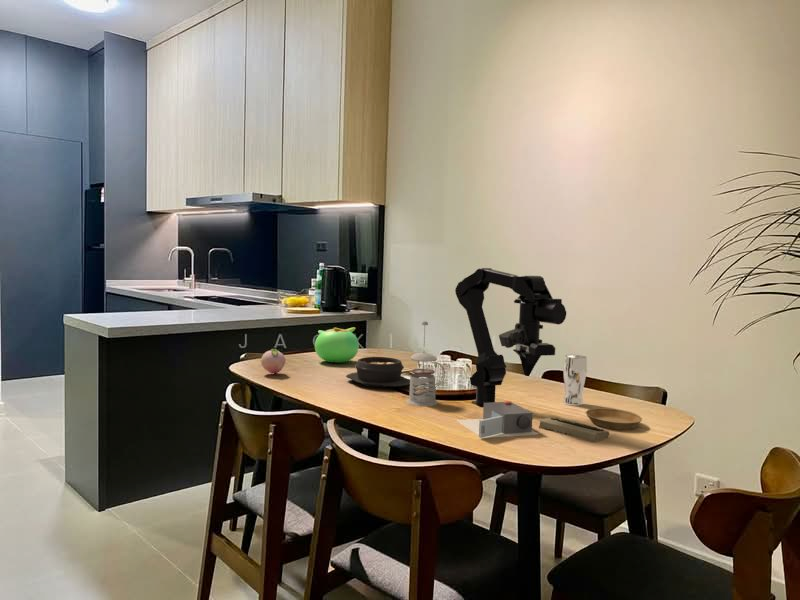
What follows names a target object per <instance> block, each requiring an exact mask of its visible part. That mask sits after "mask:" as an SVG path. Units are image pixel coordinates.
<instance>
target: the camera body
mask: <svg viewBox="0 0 800 600" xmlns="http://www.w3.org/2000/svg"><path fill="white" fill-rule="evenodd" d="M482 408H483V410H482V411H483V413H482V419H488V418H493V417H497V416H504V424H503V434H509V433H524V432H532V430H533V412H532V411H530V410H527V409H526V408H524V407H522V406H520V405H518V404H515V403H513V401H509V400H506V401H505V400H504V401H495V402H490V403H484V407H482Z"/></svg>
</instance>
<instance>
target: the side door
mask: <svg viewBox="0 0 800 600" xmlns="http://www.w3.org/2000/svg"><path fill="white" fill-rule="evenodd" d="M482 419H483V418H482ZM503 424H504V416H497V417H493V418H488V419H483V420H479V436H478V438H480V439H484V438H483V437H487V436H491V435H496V434H500V433H503Z"/></svg>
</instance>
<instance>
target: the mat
mask: <svg viewBox="0 0 800 600" xmlns="http://www.w3.org/2000/svg"><path fill="white" fill-rule="evenodd" d="M479 420H483V418H474V419H457V420H456V422H458V423H459V424H461V425H462V426H464V427H465V428H467V429H468V430H469V431H470V432H472V433H474V434H476V436H478V437H479ZM532 435H534V436H535V435H539V433H538V432H537V431H534V430H533V429H532V432H524V433H509V434H503V433H500V434H496V435H491V436H487V437H483V438H482V439H489V438H502V437H504V438H505V437H516V436H519V437H521V436H532Z"/></svg>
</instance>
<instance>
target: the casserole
mask: <svg viewBox="0 0 800 600" xmlns="http://www.w3.org/2000/svg"><path fill="white" fill-rule="evenodd" d="M402 363H403V362H402V361H401V360H400V359H399V358H398V359H397V358H394V357H387V356H369V357H368V356H367V357H362V358H359V359H358V360H357V362H356V364H355V365H354V368H355V369H356V372H352V373H351V372H350V373H348V374H347V375H345V378H347V379H350V380H353V381H354V382H356V383H359V384H361V385H364V386H366V387H370V388H389V387H395V388H397V387H404V385H405V386H408V385H409V386H410V378H406V377H404V376H402V371H403V370H404V365H403V364H402Z"/></svg>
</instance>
